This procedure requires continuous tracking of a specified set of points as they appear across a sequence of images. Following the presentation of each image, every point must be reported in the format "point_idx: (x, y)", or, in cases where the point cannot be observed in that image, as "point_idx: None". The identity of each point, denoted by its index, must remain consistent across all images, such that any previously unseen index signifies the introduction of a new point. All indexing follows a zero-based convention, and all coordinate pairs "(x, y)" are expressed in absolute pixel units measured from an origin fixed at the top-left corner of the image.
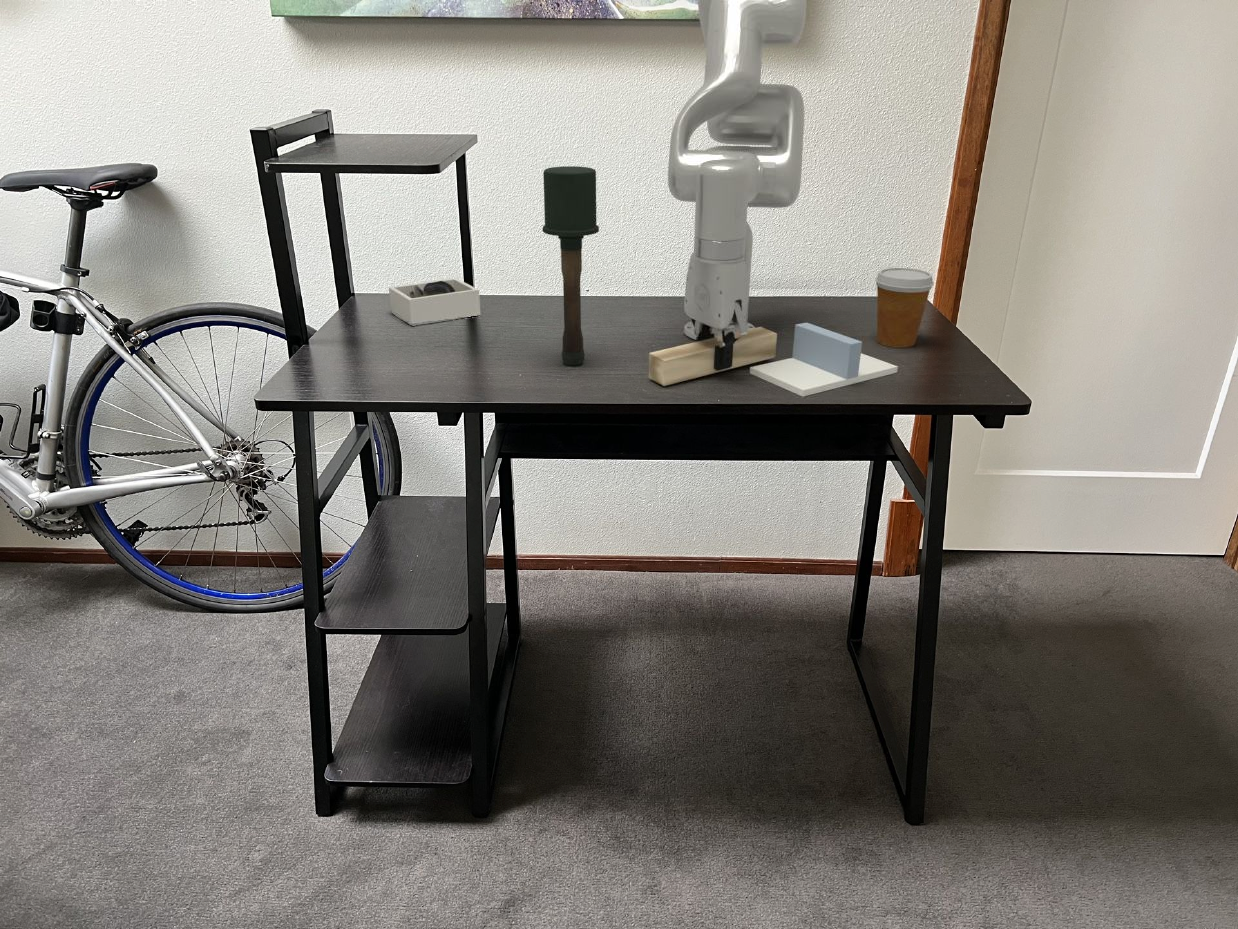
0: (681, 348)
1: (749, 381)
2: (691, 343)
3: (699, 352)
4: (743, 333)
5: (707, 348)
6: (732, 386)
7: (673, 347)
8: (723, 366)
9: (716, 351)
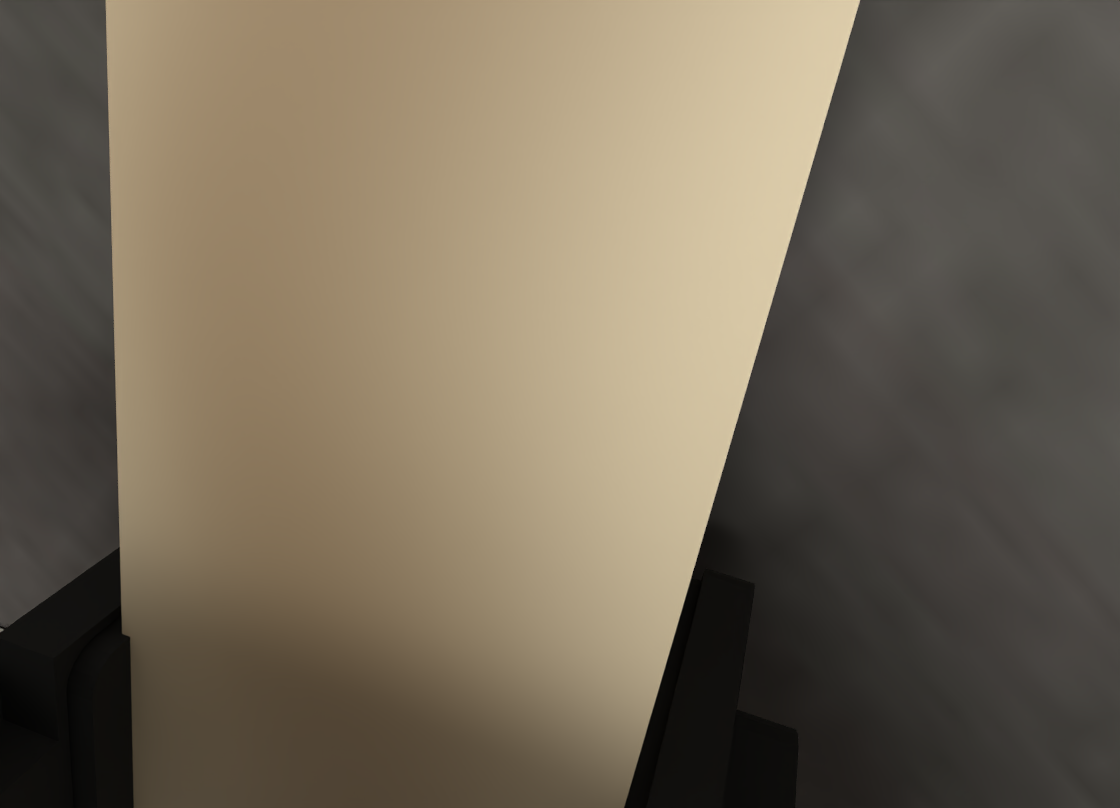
0: (581, 161)
1: (75, 531)
2: (652, 623)
3: (117, 265)
4: None
5: (207, 565)
6: (35, 294)
7: (824, 44)
8: None
9: (81, 577)
